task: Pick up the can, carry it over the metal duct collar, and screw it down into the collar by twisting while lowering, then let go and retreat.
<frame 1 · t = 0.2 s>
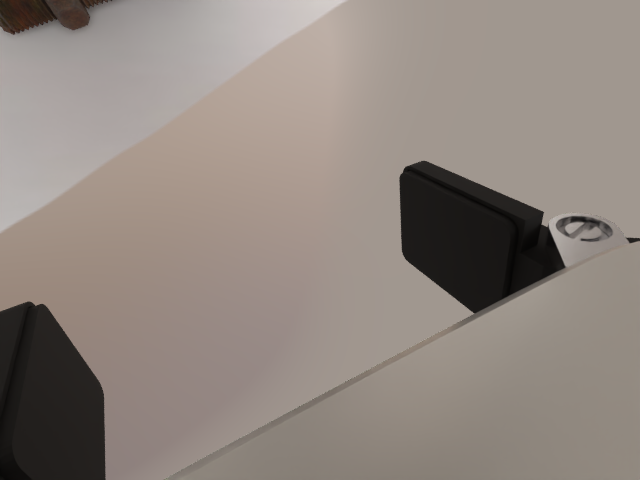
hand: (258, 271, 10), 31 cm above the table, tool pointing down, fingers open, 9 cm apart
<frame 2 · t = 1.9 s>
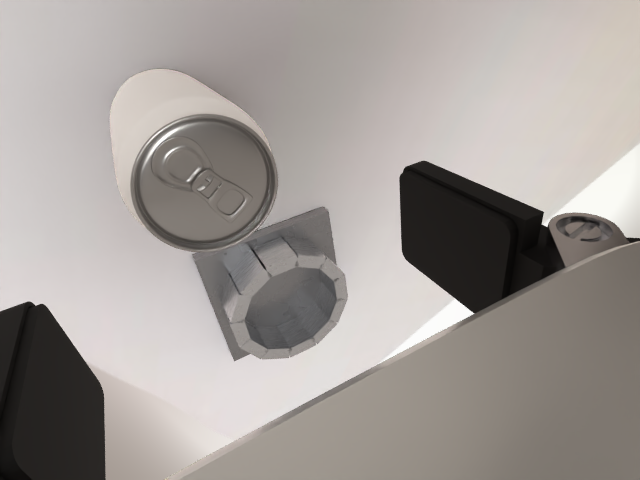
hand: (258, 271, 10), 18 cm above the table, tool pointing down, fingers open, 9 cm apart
can: (167, 122, 25), on the table
duct collar: (275, 283, 34), on the table
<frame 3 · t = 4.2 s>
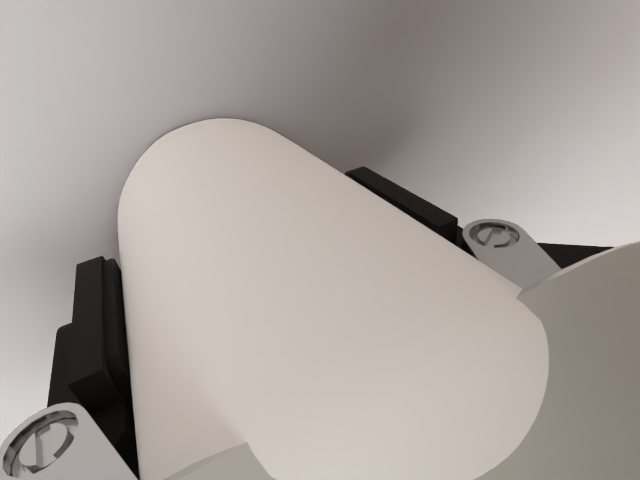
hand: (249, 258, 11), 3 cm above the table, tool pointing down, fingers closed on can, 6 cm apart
can: (222, 210, 14), on the table, touching gripper
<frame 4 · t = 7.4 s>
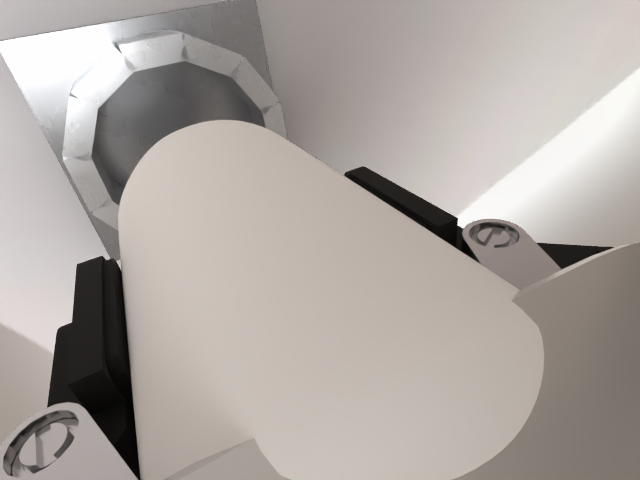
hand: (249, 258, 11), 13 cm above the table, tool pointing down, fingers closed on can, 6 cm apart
can: (222, 212, 13), point 10 cm above the table, touching gripper
duct collar: (176, 133, 21), on the table
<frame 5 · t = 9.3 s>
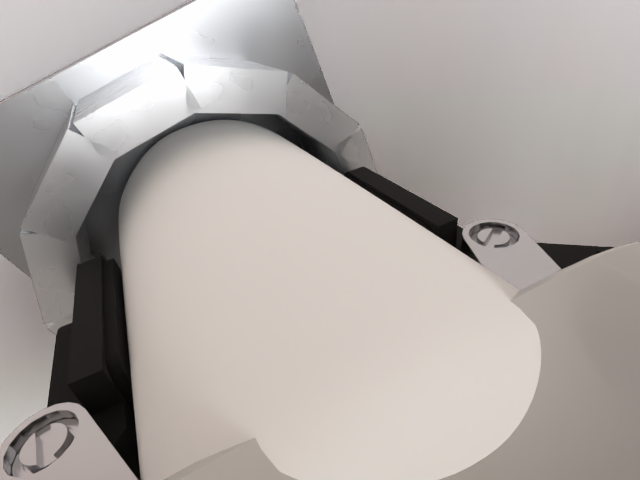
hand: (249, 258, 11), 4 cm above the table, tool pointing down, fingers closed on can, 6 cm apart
can: (222, 211, 14), point 1 cm above the table, touching gripper
duct collar: (206, 201, 14), on the table
when the fingers open (4 cm above the table, at t = 10.2 s): can stays where it is, resting on duct collar.
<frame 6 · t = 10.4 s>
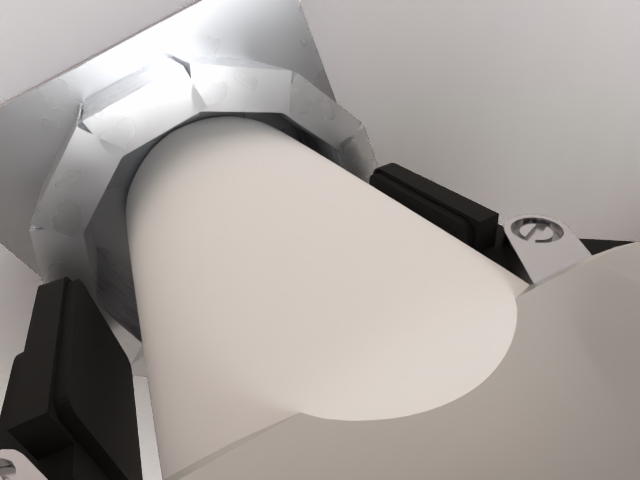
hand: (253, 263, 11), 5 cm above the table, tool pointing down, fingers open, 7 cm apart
can: (225, 206, 14), point 1 cm above the table, touching duct collar
duct collar: (210, 199, 14), on the table
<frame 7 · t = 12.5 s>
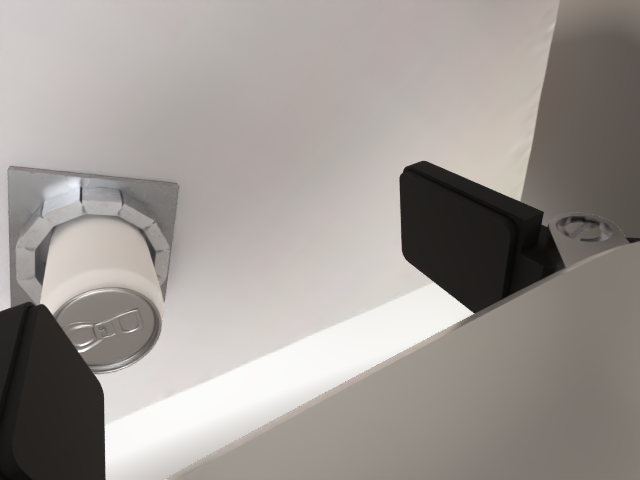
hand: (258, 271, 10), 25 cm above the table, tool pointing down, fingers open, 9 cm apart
can: (99, 242, 31), point 1 cm above the table, touching duct collar
duct collar: (97, 241, 32), on the table
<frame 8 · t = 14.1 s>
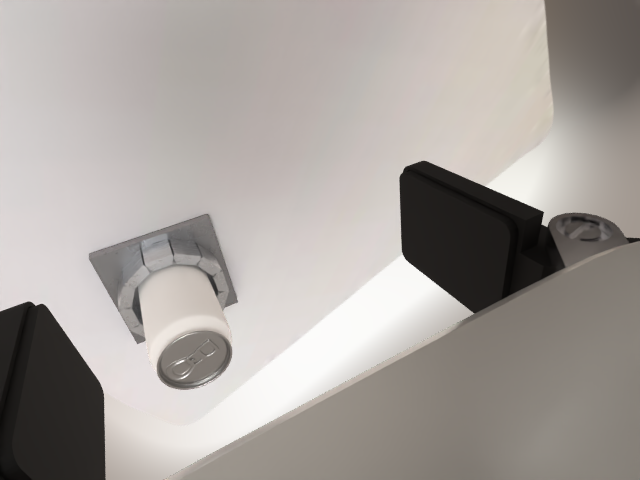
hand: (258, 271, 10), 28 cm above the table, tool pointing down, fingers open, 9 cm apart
can: (172, 279, 40), point 1 cm above the table, touching duct collar
duct collar: (170, 277, 40), on the table
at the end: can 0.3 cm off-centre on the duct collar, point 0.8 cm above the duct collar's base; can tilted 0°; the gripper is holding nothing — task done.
